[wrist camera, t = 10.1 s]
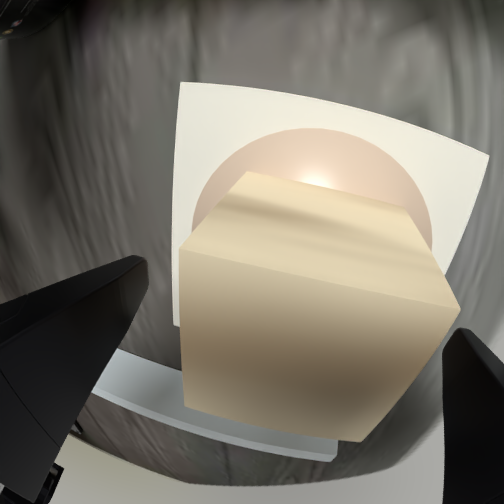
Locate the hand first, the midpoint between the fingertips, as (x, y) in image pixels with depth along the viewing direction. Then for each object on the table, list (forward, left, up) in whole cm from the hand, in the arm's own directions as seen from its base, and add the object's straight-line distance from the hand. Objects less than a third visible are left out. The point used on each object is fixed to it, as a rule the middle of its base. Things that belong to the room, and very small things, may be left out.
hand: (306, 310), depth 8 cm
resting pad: (0, 0, -3) cm, 3 cm away
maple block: (0, 0, -3) cm, 3 cm away
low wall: (-9, +3, -3) cm, 10 cm away
